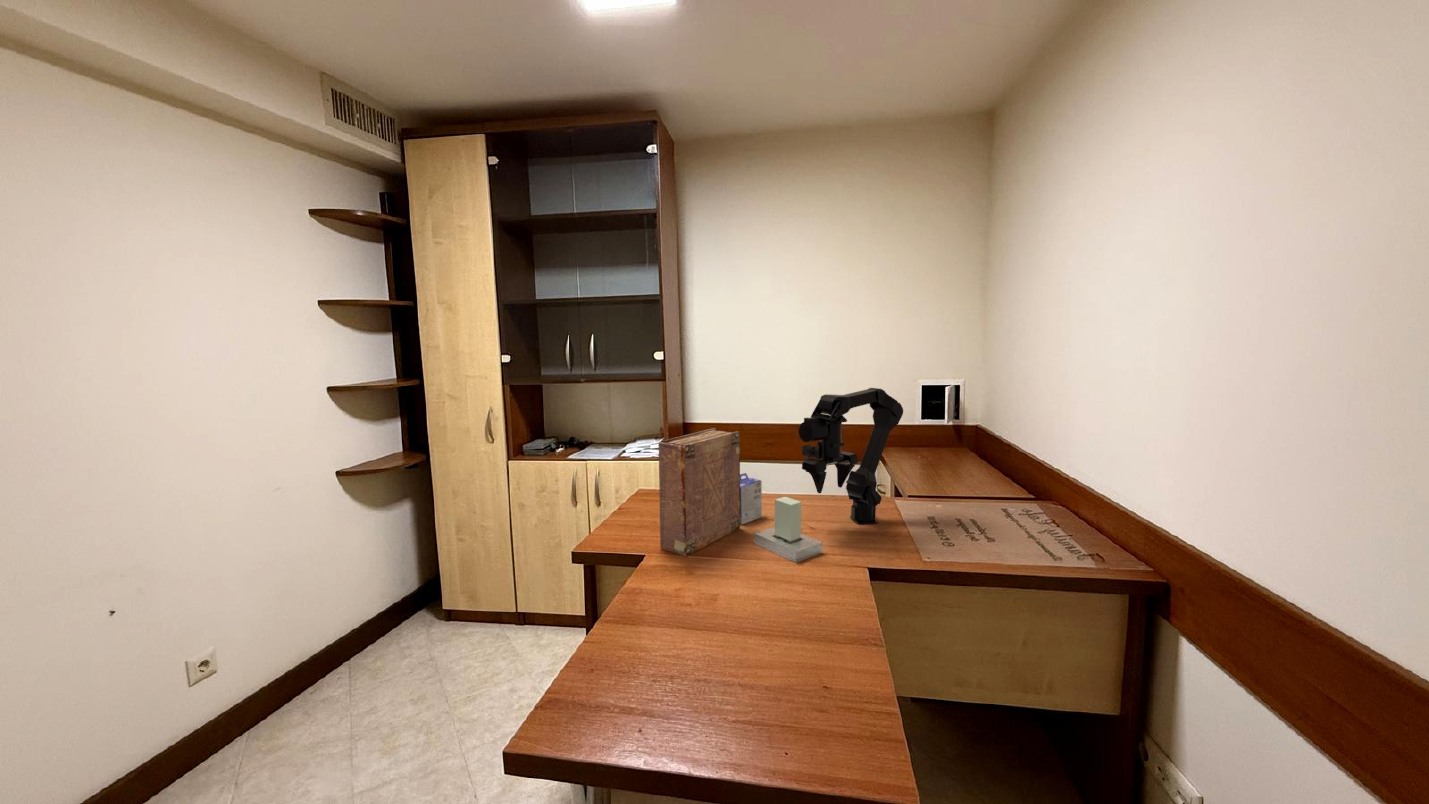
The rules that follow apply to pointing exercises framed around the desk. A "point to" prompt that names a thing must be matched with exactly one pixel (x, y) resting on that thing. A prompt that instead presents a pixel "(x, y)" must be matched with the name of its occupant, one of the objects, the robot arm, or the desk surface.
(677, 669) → the desk surface
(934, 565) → the desk surface
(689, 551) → the book
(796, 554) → the grey slotted base
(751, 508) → the ink cartridge box
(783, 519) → the clip
